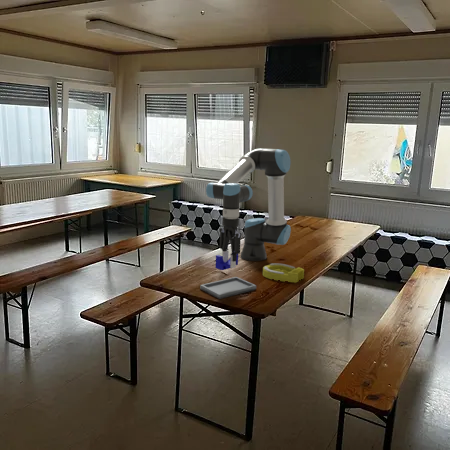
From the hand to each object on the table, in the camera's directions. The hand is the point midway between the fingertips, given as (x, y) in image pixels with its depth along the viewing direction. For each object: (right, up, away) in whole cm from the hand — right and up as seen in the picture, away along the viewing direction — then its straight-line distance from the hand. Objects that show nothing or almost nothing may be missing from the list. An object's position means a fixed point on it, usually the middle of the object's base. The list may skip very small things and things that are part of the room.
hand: (229, 265), depth 213 cm
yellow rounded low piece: (+28, -8, +24) cm, 38 cm away
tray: (0, -11, +3) cm, 12 cm away
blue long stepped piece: (-1, 0, 0) cm, 1 cm away
